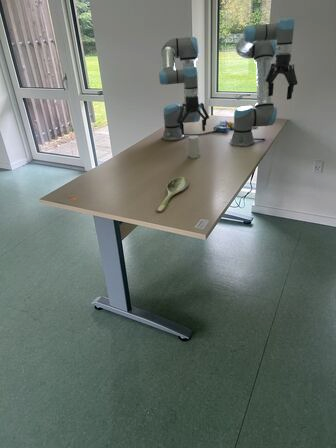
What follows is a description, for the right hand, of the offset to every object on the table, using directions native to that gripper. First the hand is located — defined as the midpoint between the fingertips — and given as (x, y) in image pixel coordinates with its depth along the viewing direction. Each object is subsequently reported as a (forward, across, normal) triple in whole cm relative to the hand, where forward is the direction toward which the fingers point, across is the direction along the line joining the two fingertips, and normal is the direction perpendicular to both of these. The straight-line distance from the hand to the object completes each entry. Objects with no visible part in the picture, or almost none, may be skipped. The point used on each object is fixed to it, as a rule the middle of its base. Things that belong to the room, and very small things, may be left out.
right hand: (279, 97), depth 181 cm
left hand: (+19, -34, -34) cm, 52 cm away
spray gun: (+35, -68, +16) cm, 78 cm away
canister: (+35, -34, -34) cm, 60 cm away
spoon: (+35, +5, -73) cm, 81 cm away
